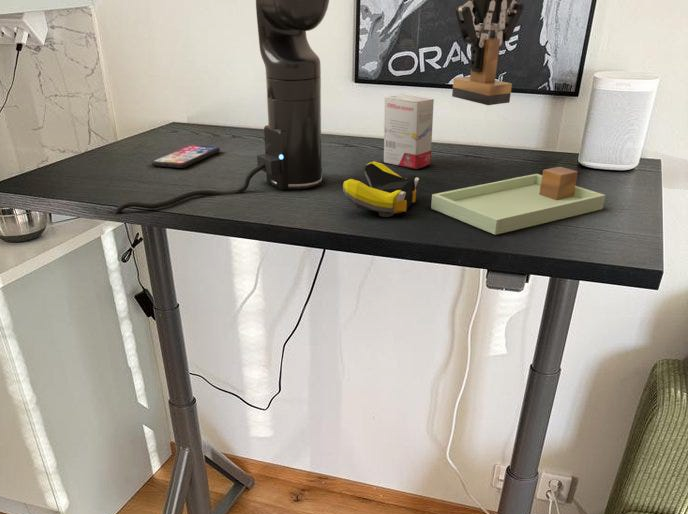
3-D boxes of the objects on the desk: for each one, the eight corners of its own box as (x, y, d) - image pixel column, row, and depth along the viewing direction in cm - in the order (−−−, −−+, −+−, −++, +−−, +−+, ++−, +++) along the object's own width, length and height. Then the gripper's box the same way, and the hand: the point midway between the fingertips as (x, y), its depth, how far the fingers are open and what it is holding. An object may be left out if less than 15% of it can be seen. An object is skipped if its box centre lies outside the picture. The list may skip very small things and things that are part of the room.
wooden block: (556, 200, 121) (560, 175, 119) (539, 194, 124) (543, 169, 122) (573, 196, 123) (578, 171, 120) (555, 190, 126) (560, 166, 123)
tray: (495, 235, 110) (497, 219, 109) (430, 208, 121) (431, 194, 119) (602, 209, 120) (605, 194, 118) (534, 186, 130) (536, 173, 129)
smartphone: (149, 161, 142) (189, 144, 153) (150, 166, 143) (190, 149, 154) (182, 164, 140) (220, 146, 151) (183, 169, 140) (221, 151, 151)
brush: (488, 105, 127) (495, 42, 121) (451, 96, 134) (457, 36, 128) (509, 102, 129) (518, 40, 123) (472, 94, 136) (479, 34, 130)
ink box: (431, 165, 142) (436, 98, 135) (414, 170, 139) (419, 102, 132) (398, 157, 147) (401, 92, 140) (381, 162, 145) (383, 96, 137)
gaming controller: (338, 216, 117) (398, 223, 114) (338, 181, 114) (400, 187, 111) (367, 191, 128) (422, 197, 126) (368, 158, 125) (425, 163, 122)
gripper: (513, -51, 123) (498, 65, 134) (448, -50, 118) (438, 71, 128) (544, -50, 118) (527, 70, 129) (478, -49, 113) (466, 77, 123)
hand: (483, 70), depth 128 cm, fingers closed on brush, 2 cm apart
